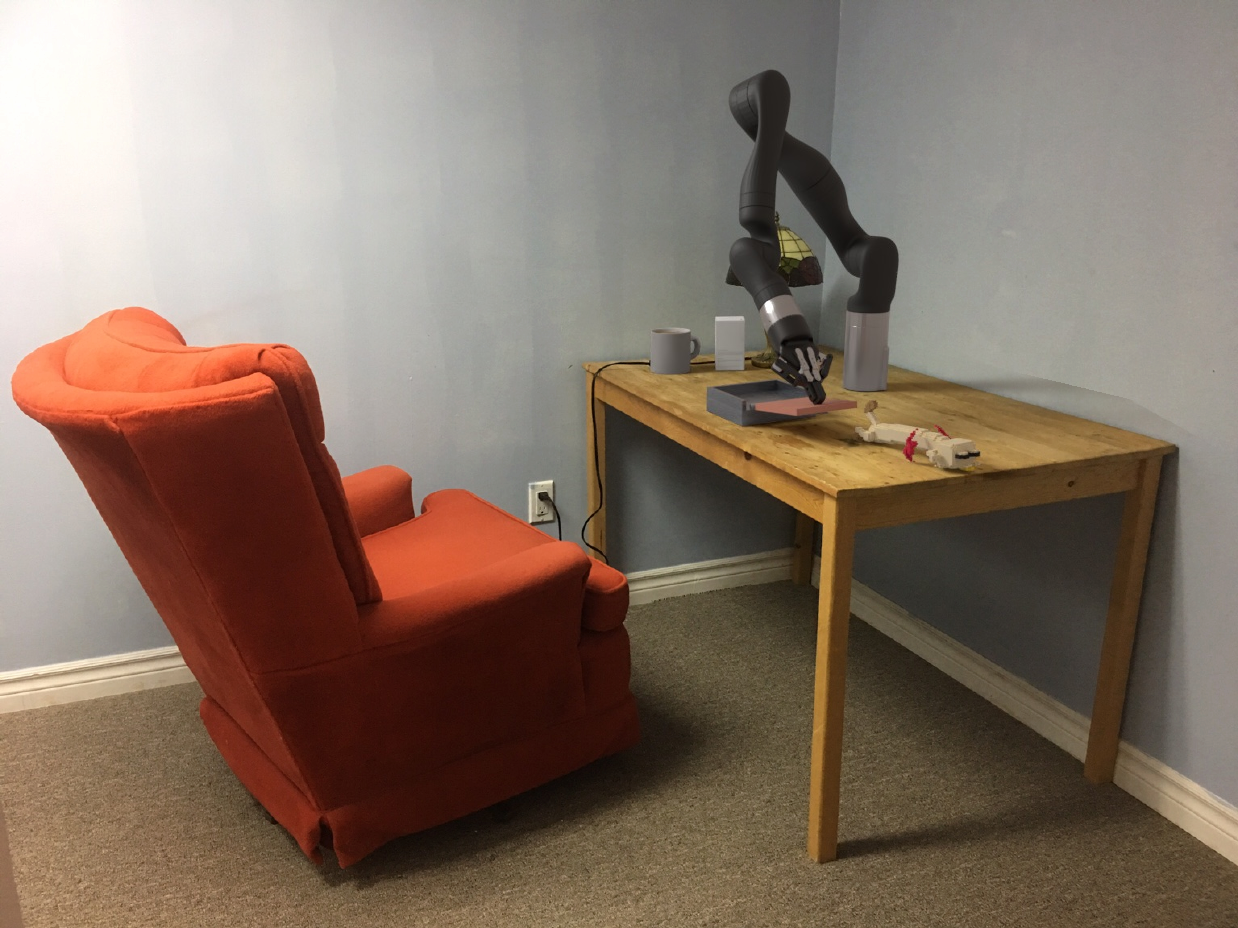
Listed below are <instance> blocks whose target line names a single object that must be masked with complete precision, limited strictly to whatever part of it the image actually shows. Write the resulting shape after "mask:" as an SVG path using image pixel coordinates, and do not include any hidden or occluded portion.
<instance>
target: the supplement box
mask: <svg viewBox="0 0 1238 928" xmlns="http://www.w3.org/2000/svg"><path fill="white" fill-rule="evenodd" d="M714 340H715V341H714V367H715V371H745V356H746V355H745V352H746V351H745V349H746V346H745V345H746V344H745V343H746V319H745V317H744V315H738V316H736V315H735V316H734V315H733V316H730V315H729V316H715V320H714Z"/></svg>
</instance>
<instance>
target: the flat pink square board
mask: <svg viewBox="0 0 1238 928" xmlns="http://www.w3.org/2000/svg"><path fill="white" fill-rule="evenodd" d="M851 409H858V402H857V400H847V399H838V398H828V397H826V399H825V401H824V402H823V403H822V404H817V405H814V404H813V402H811V401H810V400H809V397H802V398H794V399H786V400H778V401H770V402H762V403H754V404H750V410H759V411H766V412H773V413H780V414H787V415H794V416H800V415H808V416H811V415H816V416H817V415H818V416H819V415H826V414H829V412H835V411H844V410H851Z"/></svg>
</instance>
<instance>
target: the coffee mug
mask: <svg viewBox="0 0 1238 928" xmlns="http://www.w3.org/2000/svg"><path fill="white" fill-rule="evenodd" d="M691 333H692V331H691V329H689V328H682V327H660V328H659V327H657V328H654V329H651V330H650V336H649V337H650V352H649V353H650V372H651V373H654V374H657V375H668V376H669V375H682V374H683V375H684V374H687V373H690V372H691V361H692V360H694V359H695V358H697V357H698V356H699V354H700V352H701V341H700V339H699V337H697V336H696V335H692V334H691ZM691 342H692V343H693V351H692V352H691V347H692V345H691V344H692V343H691Z"/></svg>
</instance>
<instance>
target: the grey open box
mask: <svg viewBox="0 0 1238 928" xmlns="http://www.w3.org/2000/svg"><path fill="white" fill-rule="evenodd" d="M802 397H808V395H807V393H806V391H805V389H804V388H802V386H797V387H794V386H793V385H791V384H790V383H789V382H787V381H786V380H784V379H780V378H775V379H774V378H772V379H764V380H756V381H748V382H740V383H739V382H738V383H729V384H720V385H712V386H711V385H710V386H706V411H707V412H709V413H711V414H713V415H716V416H717V417H720V418H722V419H724V420H726V421H729V422H731V423H734V424H736V425H739V426H740V427H746V426H754V425H762V424H769V423H777V422H783V421H790V420H799V419H805V418H814V417H816V416H817V415H811V416H808V415H800V416H794V415H787V414H780V413H773V412H766V411H759V410H750V404H754V403H762V402H770V401H778V400H786V399H794V398H802Z"/></svg>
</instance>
